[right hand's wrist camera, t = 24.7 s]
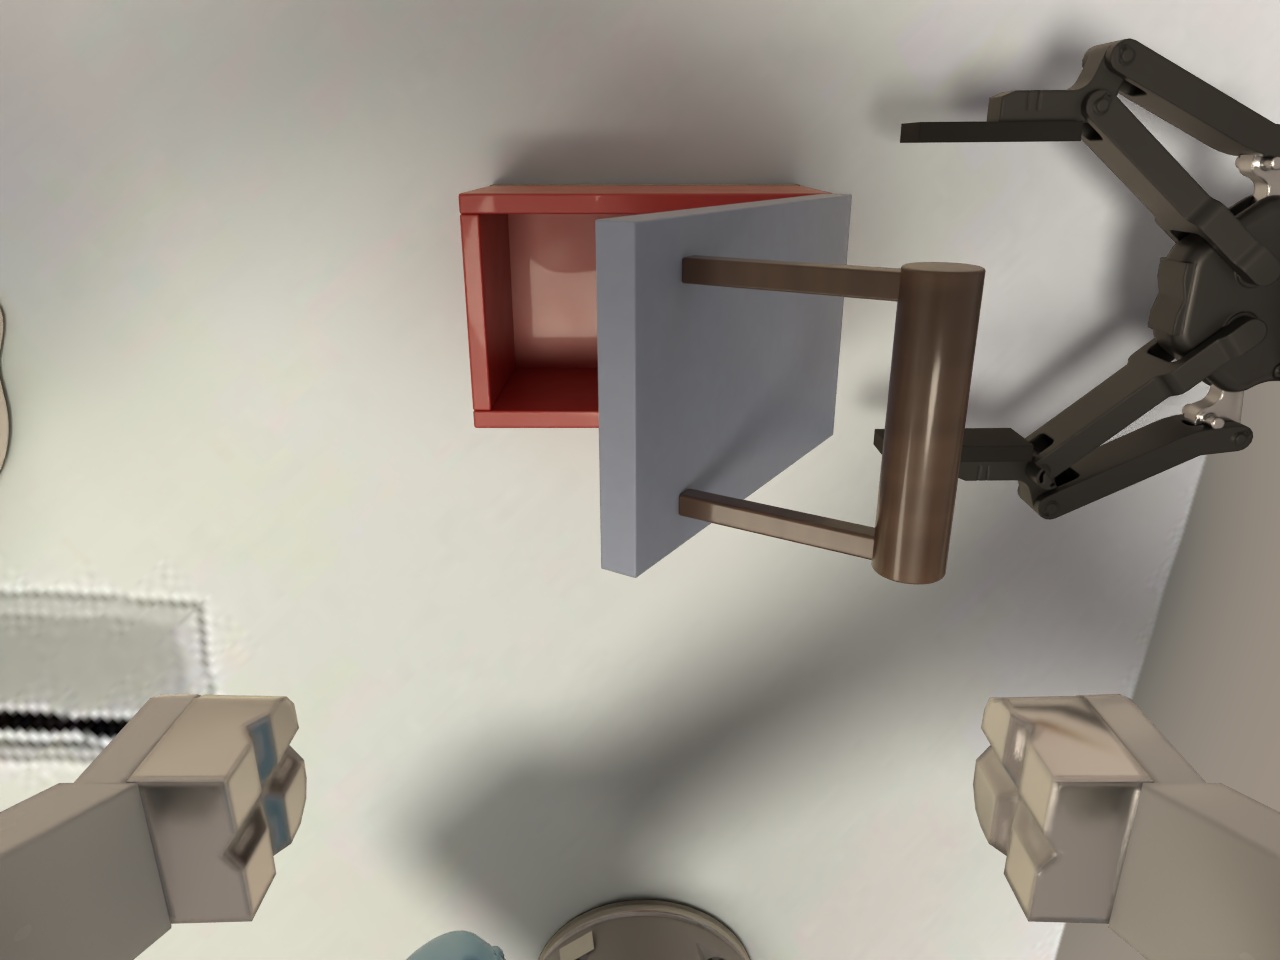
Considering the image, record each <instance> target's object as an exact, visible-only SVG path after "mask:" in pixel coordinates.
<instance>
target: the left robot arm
mask: <svg viewBox="0 0 1280 960" xmlns="http://www.w3.org/2000/svg"><path fill="white" fill-rule="evenodd" d="M1082 67H1083V70H1082V72H1081V74H1080V76H1079V78H1078V80H1077V81H1076V83H1075V84H1074V85H1073V86H1072V87H1071V88H1069V89H1068V90H1031V91H1029V90H1025V91H1010V92H1003V93H1000V94H998V95H995V96H993V97H991V98H989V106H988V115H987V122H917V123H906V124H902V125H901V136H900V143H924V142H1035V141H1081V139H1082V140H1083V141H1084V142H1085V143H1086V144H1087V145H1088V146H1089V148H1090V149H1091V150H1092V151H1093V152H1094V153H1095V154H1096V155H1097V156H1098V157H1099V158H1100V159H1101V160H1102V161H1103V162H1104V163H1105V164H1106V165H1107V166H1108V167H1109V168H1110V169H1111V170H1112V171H1113V173H1114V174H1115V175H1116V176H1117V177H1118V178H1119V179H1120V180H1121V181H1122V182H1123V183H1124V184H1125V185H1126V186H1127V187H1128V188H1129V189H1130V190H1131V191H1132V192H1133V193H1134V194H1135V195H1136V196H1137V198H1138V199H1139V200H1140V201H1141V202H1142V203H1143V204H1144V205H1145V206H1146V207H1147V208H1148V209H1149V210H1150V211H1151V212H1152V213H1153V214H1154V215H1155V221H1156V223H1157V224H1158V225H1159V226H1160V227H1161V228H1162V229H1163V230H1164V231H1165V232H1166V233H1167V234H1168V235H1169V236H1170V237H1171V238H1172V239H1173V240H1174V242H1175V243H1176V245H1175V246H1174V247H1173V248H1172V249H1171V251H1170V252H1169V254H1168V256H1167V258H1161V260H1160V265H1159V270H1158V288H1159V293H1158V296H1157V298H1156V300H1155V302H1154V304H1153V307H1152V309H1151V312H1150V317H1149V322H1148V327H1149V328H1152V329H1153V333H1154V337H1155V338H1154V339H1153V340H1151V341H1150V342H1149V343H1147V344H1146V345H1144V346H1143V347H1142V348H1140V349H1139V350H1138V351H1136V352H1135V353H1133V354H1132V355H1131V356H1130V357H1129V359H1128V363H1127V365H1126V366H1124V367H1123V368H1122V369H1120V370H1119V371H1117V372H1116V373H1115V374H1113V375H1112V376H1111V377H1109V378H1108V379H1106V380H1105V381H1104V382H1102V383H1101V384H1100V385H1098V386H1097V387H1095V388H1094V389H1093V390H1091V391H1090V392H1089V393H1087V394H1086V395H1084V396H1083V397H1082V398H1080V399H1079V400H1078V401H1076V402H1075V403H1073V404H1072V405H1071V406H1069V407H1068V408H1067V409H1065V410H1064V411H1062V412H1061V413H1060V414H1058V415H1057V416H1056V417H1054V418H1053V419H1051V420H1050V421H1049V422H1047V423H1046V424H1045V425H1043V426H1042V427H1040V428H1039V429H1038V430H1036V431H1035V432H1034V433H1032V434H1031V435H1029V436H1028V437H1027V438H1025V439H1024V438H1023V437H1022V436H1020V435H1019V434H1018V433H1016V432H1015V431H1014V430H1012V429H1011V428H965V429H964V437H963V444H962V452H961V460H960V467H959V475H958V478H960V479H963V480H965V481H976V480H1018V482H1019V487H1018V495H1019V496H1020V498H1021V499H1023V500H1024V501H1025V502H1026V503H1027V504H1028V505H1029V506H1030V507H1031V508H1032V509H1033V510H1035V511H1036V512H1037V513H1038V514H1039V515H1040V516H1041V517H1043V518H1044V519H1054V518H1057V517H1059V516H1061V515H1064V514H1066V513H1068V512H1071V511H1073V510H1075V509H1078V508H1080V507H1082V506H1085V505H1087V504H1089V503H1091V502H1094V501H1096V500H1098V499H1101V498H1103V497H1105V496H1108V495H1110V494H1112V493H1114V492H1117V491H1119V490H1121V489H1124V488H1126V487H1128V486H1131V485H1133V484H1135V483H1138V482H1140V481H1142V480H1144V479H1147V478H1149V477H1151V476H1154V475H1156V474H1158V473H1161V472H1163V471H1165V470H1167V469H1170V468H1172V467H1174V466H1177V465H1179V464H1181V463H1184V462H1186V461H1188V460H1191V459H1193V458H1195V457H1197V456H1200V455H1206V454H1215V453H1224V452H1233V451H1239V450H1243V449H1245V448H1246V447H1247V446H1248V445H1249V444H1250V443H1251V441H1252V438H1253V432H1252V430H1251V429H1250V428H1249V427H1247V426H1245V425H1242V424H1240V421H1241V412H1242V404H1243V395H1244V390H1247V389H1249V388H1251V387H1253V386H1255V385H1258V384H1260V383H1263V382H1267V381H1280V124H1275V123H1273V122H1271V121H1270V120H1268V119H1266V118H1265V117H1263V116H1261V115H1260V114H1258V113H1256V112H1255V111H1253V110H1251V109H1250V108H1248V107H1246V106H1245V105H1243V104H1241V103H1240V102H1238V101H1236V100H1235V99H1233V98H1231V97H1230V96H1228V95H1226V94H1225V93H1223V92H1221V91H1220V90H1218V89H1216V88H1215V87H1213V86H1211V85H1210V84H1208V83H1206V82H1205V81H1203V80H1201V79H1200V78H1198V77H1196V76H1195V75H1193V74H1191V73H1190V72H1188V71H1186V70H1185V69H1183V68H1181V67H1180V66H1178V65H1176V64H1174V63H1173V62H1171V61H1169V60H1168V59H1166V58H1164V57H1163V56H1161V55H1159V54H1158V53H1156V52H1154V51H1153V50H1151V49H1149V48H1148V47H1146V46H1144V45H1143V44H1141V43H1139V42H1138V41H1136V40H1133V39H1124V40H1119V41H1115V42H1110V43H1106V44H1102V45H1097V46H1094V47H1092V48H1090V49H1089V50H1088V51H1087V52H1086V53H1085V55H1084V58H1083V60H1082ZM1118 93H1119V94H1121V95H1122V96H1124V97H1126V98H1127V99H1129V100H1131V101H1133V102H1134V103H1136V104H1138V105H1139V106H1141V107H1143V108H1145V109H1146V110H1148V111H1150V112H1151V113H1153V114H1155V115H1156V116H1158V117H1160V118H1162V119H1163V120H1165V121H1167V122H1168V123H1170V124H1172V125H1174V126H1175V127H1177V128H1179V129H1180V130H1182V131H1184V132H1186V133H1187V134H1189V135H1191V136H1192V137H1194V138H1196V139H1197V140H1199V141H1201V142H1203V143H1204V144H1206V145H1208V146H1209V147H1211V148H1213V149H1215V150H1217V151H1220V152H1223V153H1226V154H1229V155H1234V156H1239V157H1238V158H1237V159H1236V161H1235V165H1236V167H1237V168H1238V169H1239V171H1240V173H1241V174H1242V175H1244V176H1246V177H1248V178H1250V179H1251V180H1252V181H1253V183H1254V194H1253V195H1251V196H1248V197H1246V198H1244V199H1242V200H1240V201H1239V202H1237V203H1236V204H1234V205H1233V206H1231V207H1230V208H1227V207H1226V206H1225V205H1224V204H1222V203H1221V202H1219V201H1217V200H1215V199H1213V198H1212V197H1210V196H1209V195H1208V194H1207V193H1206V192H1205V191H1204V190H1203V189H1202V188H1201V186H1200V185H1199V184H1198V183H1197V182H1196V181H1195V180H1194V179H1193V178H1192V177H1191V176H1190V175H1189V174H1188V173H1187V171H1186V170H1185V169H1184V168H1183V167H1182V166H1181V165H1180V164H1179V163H1178V162H1177V161H1176V160H1175V159H1174V158H1173V156H1172V155H1171V154H1170V153H1169V152H1168V151H1167V150H1166V149H1165V148H1164V147H1163V146H1162V145H1161V144H1160V142H1159V141H1158V140H1157V139H1156V138H1155V137H1154V136H1153V135H1152V134H1151V133H1150V132H1149V131H1148V130H1147V129H1146V127H1145V126H1144V125H1143V124H1142V123H1141V122H1140V121H1139V120H1138V119H1137V118H1136V117H1135V116H1134V115H1133V114H1132V112H1131V111H1130V110H1129V109H1128V108H1127V107H1126V106H1125V105H1124V104H1123V103H1122V102H1121V101H1120V100H1119V99H1118V97H1117V94H1118ZM1173 359H1176V360H1178V361H1175V362H1171V361H1172V360H1173ZM1201 381H1203V382H1204V383H1206V384H1208V385H1210V390H1209V392H1208V394H1207V396H1206V397H1205V398H1203V399H1202V400H1200V401H1198V402H1195V403H1193V404H1187V405H1185V406H1184V407H1183V409H1182V413H1183V414H1180V415H1174V416H1171V417H1167V418H1163V419H1161V420H1158V421H1156V422H1153V423H1151V424H1149V425H1146V426H1144V427H1142V428H1140V429H1137V430H1135V431H1133V432H1131V433H1128V434H1126V435H1124V436H1122V437H1119V438H1117V439H1115V440H1113V441H1110V442H1108V443H1106V444H1104V445H1101V444H1103V443H1104V442H1106V441H1107V440H1109V439H1110V438H1111V437H1113V436H1114V435H1116V434H1117V433H1118V432H1120V431H1121V430H1123V429H1124V428H1125V427H1127V426H1128V425H1130V424H1131V423H1132V422H1134V421H1135V420H1137V419H1138V418H1140V417H1141V416H1142V415H1144V414H1145V413H1147V412H1148V411H1149V410H1151V409H1152V408H1154V407H1155V406H1156V405H1158V404H1159V403H1161V402H1162V401H1164V400H1165V399H1166V398H1168V397H1170V396H1175V395H1180V394H1183V393H1185V392H1187V391H1188V390H1190V389H1191V388H1192V387H1194V386H1195V385H1197V384H1198V383H1200V382H1201ZM884 433H885V429H875V434H874V445H875V446H876V448H877V449H878V450H879V452H880V453H881V454H882V453H883V443H884ZM1100 445H1101V446H1100ZM406 960H506V959H504V954H503V951H502V950H501V949H500V948H499V947H498V946H491V945H490V944H488V943H487V942H486V941H484V940H483V939H481V938H480V937H479V936H477V935H476V934H474V933H471V932H468V931H453V932H449V933H445V934H443V935H441V936H438V937H436V938H434V939H433V940H431V941H429V942H428V943H426V944H425V945H423V946H422V947H420V948H419V949H418V950H416V951H415V952H414V953H413V954H412V955H410V956H409V957H408V958H407V959H406ZM539 960H750V959H749V957H748V954H747V952H746V950H745V949H744V947H743V945H742V944H741V942H740V941H739V940H738V938H737V937H736V936H735V935H734V934H733V933H732V932H731V931H730V930H729V929H728V928H726V927H725V926H724V925H723V924H721V923H720V922H719V921H717V920H716V919H714V918H712V917H711V916H709V915H707V914H705V913H703V912H701V911H699V910H696V909H693V908H691V907H688V906H684V905H681V904H677V903H672V902H667V901H658V900H631V901H622V902H617V903H612V904H608V905H604V906H601V907H598V908H595V909H593V910H590V911H588V912H586V913H584V914H581V915H580V916H578V917H576V918H575V919H573V920H571V921H570V922H568V923H567V924H566V925H564V926H563V927H562V928H561V929H560V930H559V931H557V932H556V933H555V935H554V936H553V937H552V938H551V939H550V940H549V942H548V943H547V944H546V946H545V947H544V949H543V951H542V953H541V955H540V957H539Z"/></svg>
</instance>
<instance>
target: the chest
mask: <svg viewBox="0 0 1280 960" xmlns="http://www.w3.org/2000/svg"><path fill="white" fill-rule="evenodd" d="M817 194H832V193H828V192H824V191H820V190H816V189H811V188H807V187H803V186H800V185H490V186H488V187H484V188H480V189H476V190H472V191H468V192H464V193H461V194H459V208H460V213H461V215H460V223H461V238H462V252H463V267H464V281H465V296H466V311H467V325H468V340H469V355H470V369H471V384H472V399H473V409H474V412H473V413H474V426H475V427H476V428H599V403H598V345H597V288H596V231H595V221H596V220H597V219H605V218H613V217H622V216H631V215H640V214H649V213H658V212H666V211H675V210H684V209H693V208H702V207H711V206H720V205H728V204H737V203H746V202H755V201H764V200H773V199H781V198H790V197H799V196H808V195H817Z"/></svg>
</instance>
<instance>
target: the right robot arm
mask: <svg viewBox="0 0 1280 960" xmlns="http://www.w3.org/2000/svg"><path fill="white" fill-rule="evenodd" d="M2 336H3V316H2V312H1V310H0V348H1V343H2ZM8 436H9V421H8V411H7V406H6V401H5V397H4V393H3V389H2V385H1V381H0V470H1V467H2V465H3V462H4V459H5V455H6V451H7V445H8ZM298 729H299V726H298V721H297V716H296V711H295V706H294V703H293V702H292V701H291V700H290V699H289V698H288V697H284V696H236V695H203V696H201V695H159V696H156V697H152V698H150V699H149V700H148V701H147V702H146V703H145V705H144V706H143V707H142V708H141V709H140V710H139V711H138V712H137V713H136V714H135V716H134V717H133V718H132V719H131V720H130V721H129V722H128V723H127V724H126V726H125V727H124V728H123V729H122V730H121V731H120V732H119V733H118V734H117V736H116V737H115V738H114V739H113V740H112V741H111V742H110V743H109V744H108V745H107V747H106V748H105V749H104V750H103V751H102V752H101V753H100V754H99V755H98V757H97V758H96V759H95V760H94V761H93V762H92V763H91V764H90V765H89V767H88V768H87V769H86V770H85V771H84V772H83V773H82V774H81V775H80V776H79V778H78V779H77V780H76V781H75V782H74V783H59V784H57V785H55V786H53V787H51V788H49V789H46V790H44V791H42V792H40V793H38V794H36V795H34V796H32V797H30V798H28V799H26V800H24V801H22V802H20V803H18V804H16V805H14V806H12V807H10V808H8V809H6V810H4V811H2V812H0V960H133V959H135V958H136V957H137V956H138V955H139V954H141V953H142V952H143V951H144V950H145V949H147V948H148V947H149V946H150V945H151V944H153V943H154V942H155V941H156V940H157V939H159V938H160V937H161V936H162V935H163V934H165V933H166V932H167V931H168V930H170V929H171V924H173V923H208V922H242V921H252V920H253V918H254V916H255V914H256V912H257V910H258V908H259V906H260V904H261V902H262V900H263V898H264V896H265V894H266V892H267V890H268V888H269V886H270V885H271V883H272V881H273V879H274V877H275V875H276V870H275V864H274V858H273V856H274V855H275V854H277V853H278V852H280V851H281V850H282V849H284V848H285V847H287V846H288V845H290V844H291V843H292V841H293V839H294V837H295V834H296V832H297V830H298V828H299V826H300V824H301V820H302V815H303V811H304V806H305V802H306V779H307V778H306V771H305V764H304V760H303V759H302V758H301V757H300V755H299V754H298V753H297V752H296V751H295V750H294V749H293V748H292V747H291V746H290V745H289V744H290V742H291V741H292V739H293V737H294V736H295V734H296V732H297V730H298ZM981 729H982V730H983V732H984V734H985V736H986V737H987V739H988V741H989V743H990V744H991V745H990V746H989V747H988V748H987V749H986V750H985V751H984V752H983V753H982V754H981V755H980V757H979V758H978V759H977V760H976V765H975V773H974V781H973V789H974V800H975V809H976V813H977V816H978V819H979V823H980V826H981V828H982V830H983V832H984V835H985V837H986V839H987V841H988V843H989V844H990V845H992V846H993V847H995V848H996V849H998V850H999V851H1000V852H1002V853H1003V854H1005V855H1006V856H1007V858H1006V864H1005V869H1004V875H1005V877H1006V879H1007V881H1008V883H1009V885H1010V886H1011V888H1012V890H1013V892H1014V894H1015V896H1016V898H1017V900H1018V902H1019V904H1020V906H1021V908H1022V910H1023V912H1024V914H1025V916H1026V918H1027V920H1028V921H1036V922H1071V923H1107V924H1109V926H1108V927H1109V928H1110V929H1111V930H1112V931H1113V932H1115V933H1116V934H1117V935H1118V936H1119V937H1121V938H1122V939H1123V940H1124V941H1125V942H1127V943H1128V944H1129V945H1130V946H1131V947H1133V948H1134V949H1135V950H1136V951H1137V952H1139V953H1140V954H1141V955H1142V956H1143V957H1145V958H1146V959H1147V960H1280V812H1278V811H1276V810H1274V809H1272V808H1270V807H1268V806H1266V805H1264V804H1262V803H1260V802H1258V801H1256V800H1254V799H1252V798H1250V797H1248V796H1246V795H1244V794H1242V793H1240V792H1238V791H1235V790H1233V789H1231V788H1229V787H1227V786H1225V785H1223V784H1221V783H1206V782H1205V781H1204V780H1203V779H1202V778H1201V777H1200V775H1199V774H1198V773H1197V772H1196V771H1195V770H1194V769H1193V768H1192V767H1191V765H1190V764H1189V763H1188V762H1187V761H1186V760H1185V759H1184V758H1183V757H1182V755H1181V754H1180V753H1179V752H1178V751H1177V750H1176V749H1175V748H1174V747H1173V746H1172V744H1171V743H1170V742H1169V741H1168V740H1167V739H1166V738H1165V737H1164V736H1163V734H1162V733H1161V732H1160V731H1159V730H1158V729H1157V728H1156V727H1155V726H1154V724H1153V723H1152V722H1151V721H1150V720H1149V719H1148V718H1147V717H1146V716H1145V714H1144V713H1143V712H1142V711H1141V710H1140V709H1139V708H1138V707H1137V706H1136V705H1135V703H1134V702H1133V701H1132V700H1131V699H1129V698H1127V697H1125V696H1123V695H1121V694H1106V695H1077V696H1061V697H1007V698H990V699H989V701H988V703H987V705H986V707H985V709H984V714H983V720H982V726H981Z"/></svg>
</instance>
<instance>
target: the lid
mask: <svg viewBox="0 0 1280 960" xmlns="http://www.w3.org/2000/svg"><path fill="white" fill-rule="evenodd" d="M851 199H852V195H851V194H817V195H808V196H799V197H790V198H781V199H773V200H764V201H755V202H746V203H737V204H728V205H720V206H711V207H702V208H693V209H684V210H675V211H666V212H658V213H649V214H640V215H631V216H622V217H613V218H605V219H597V220H596V221H595V231H596V288H597V345H598V403H599V460H600V517H601V567H602V569H605V570H609V571H613V572H616V573H620V574H623V575H627V576H630V577H634V578H636V577H638V576H639V575H640V574H642V573H643V572H645V571H646V570H647V569H649V568H650V567H651V566H653V565H654V564H656V563H657V562H658V561H660V560H661V559H662V558H664V557H665V556H667V555H668V554H669V553H671V552H672V551H674V550H675V549H676V548H678V547H679V546H680V545H682V544H683V543H685V542H686V541H687V540H689V539H690V538H691V537H693V536H694V535H696V534H697V533H698V532H700V531H701V530H702V529H704V528H705V527H707V526H708V525H709V524H711V523H715V524H719V525H724V526H728V527H732V528H737V529H741V530H745V531H750V532H754V533H758V534H762V535H767V536H771V537H775V538H780V539H784V540H788V541H793V542H797V543H801V544H806V545H810V546H814V547H819V548H823V549H827V550H832V551H836V552H840V553H844V554H849V555H853V556H857V557H862V558H866V559H870V560H872V567H873V569H874V570H875V571H876V572H877V573H878V574H880V575H881V576H883V577H885V578H887V579H890V580H893V581H896V582H901V583H907V584H929V583H934V582H937V581H939V580H941V579H942V578H943V577H944V575H945V573H946V566H947V558H948V550H949V543H950V535H951V528H952V520H953V513H954V505H955V497H956V490H957V482H958V475H959V467H960V460H961V452H962V444H963V437H964V429H965V422H966V414H967V407H968V399H969V391H970V384H971V376H972V369H973V361H974V354H975V346H976V338H977V331H978V323H979V316H980V308H981V301H982V293H983V285H984V278H985V269H984V268H983V267H980V266H976V265H970V264H961V263H947V262H918V263H909V264H905V265H902V267H901V269H896V268H881V267H866V266H851V265H846V262H847V250H848V237H849V224H850V212H851ZM844 297H851V298H863V299H875V300H887V301H898V302H897V312H896V322H895V332H894V343H893V353H892V363H891V373H890V383H889V393H888V403H887V413H886V423H885V433H884V443H883V453H882V463H881V473H880V483H879V493H878V503H877V513H876V523H875V528H873V527H868V526H863V525H859V524H854V523H849V522H845V521H840V520H835V519H831V518H826V517H821V516H817V515H812V514H807V513H803V512H798V511H793V510H788V509H784V508H779V507H774V506H770V505H765V504H760V503H756V502H751V501H746V500H744V499H745V498H746V497H748V496H749V495H751V494H752V493H753V492H755V491H756V490H757V489H759V488H760V487H762V486H763V485H764V484H766V483H767V482H768V481H770V480H771V479H773V478H774V477H775V476H777V475H778V474H779V473H781V472H782V471H784V470H785V469H786V468H788V467H789V466H790V465H792V464H793V463H795V462H796V461H797V460H799V459H800V458H801V457H803V456H804V455H806V454H807V453H808V452H810V451H811V450H812V449H814V448H815V447H817V446H818V445H819V444H821V443H822V442H823V441H825V440H826V439H828V438H829V437H830V436H832V435H833V428H834V415H835V403H836V390H837V377H838V364H839V352H840V339H841V326H842V313H843V301H844Z"/></svg>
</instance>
